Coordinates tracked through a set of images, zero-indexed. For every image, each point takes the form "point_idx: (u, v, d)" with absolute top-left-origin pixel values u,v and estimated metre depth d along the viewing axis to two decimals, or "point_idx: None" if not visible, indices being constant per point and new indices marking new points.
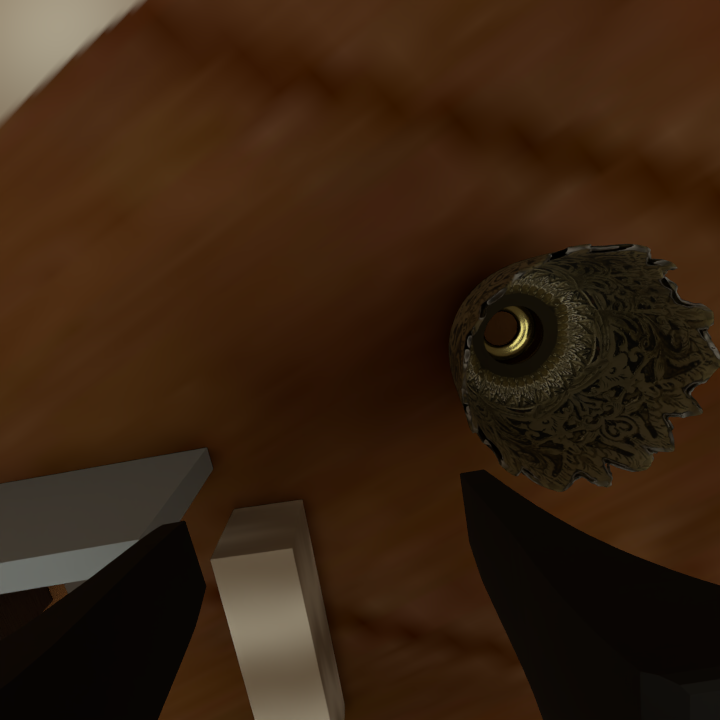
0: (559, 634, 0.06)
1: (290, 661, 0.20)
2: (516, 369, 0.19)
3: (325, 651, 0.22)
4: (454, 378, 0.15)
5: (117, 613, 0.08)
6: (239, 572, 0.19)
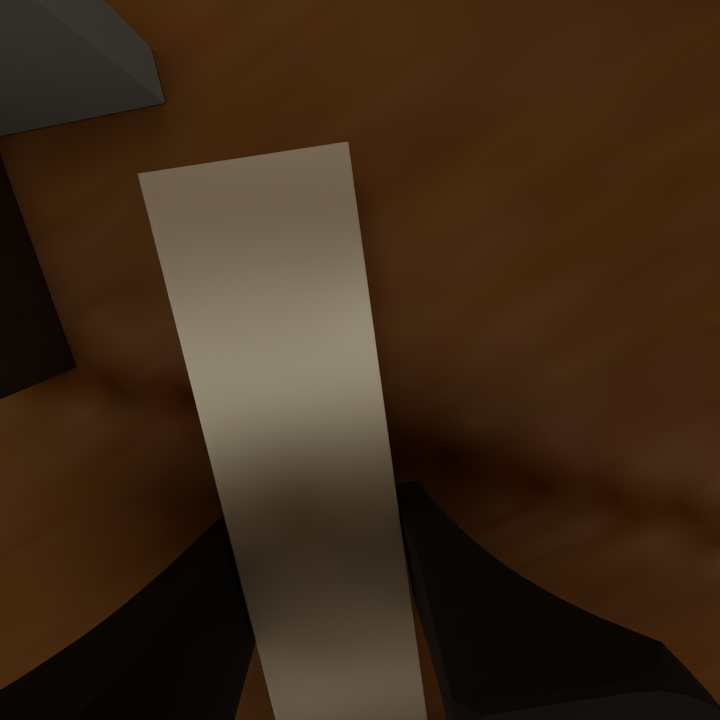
0: (437, 653, 0.06)
1: (333, 473, 0.09)
2: None
3: None
4: None
5: (203, 599, 0.08)
6: (212, 216, 0.07)
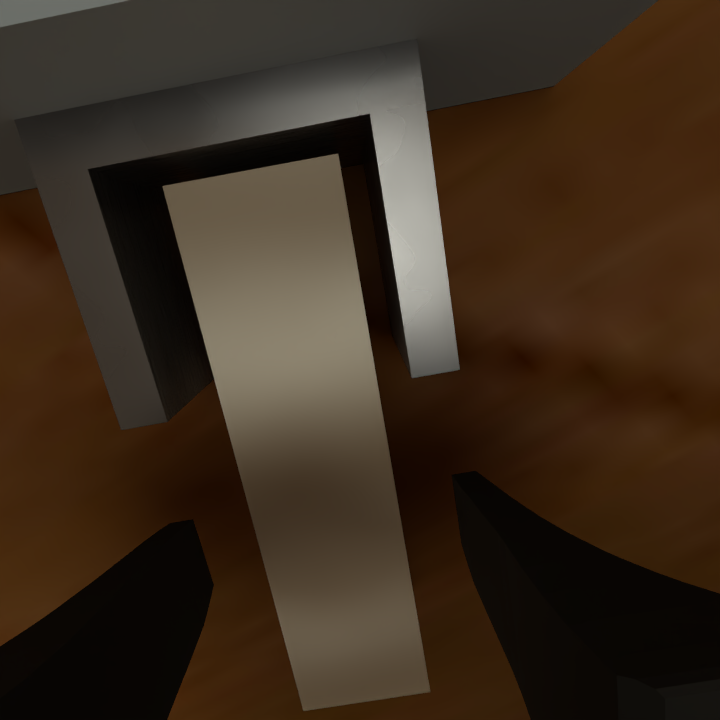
0: (544, 636, 0.06)
1: (334, 439, 0.10)
2: None
3: None
4: None
5: (128, 611, 0.08)
6: (225, 219, 0.09)
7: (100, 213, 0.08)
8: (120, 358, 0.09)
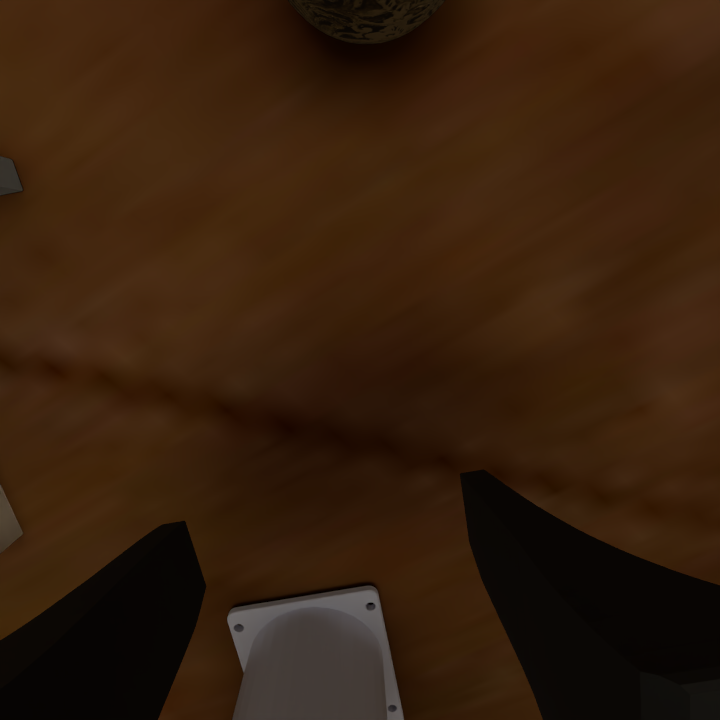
0: (559, 634, 0.06)
1: None
2: None
3: None
4: None
5: (117, 613, 0.08)
6: None
7: None
8: None
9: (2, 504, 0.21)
